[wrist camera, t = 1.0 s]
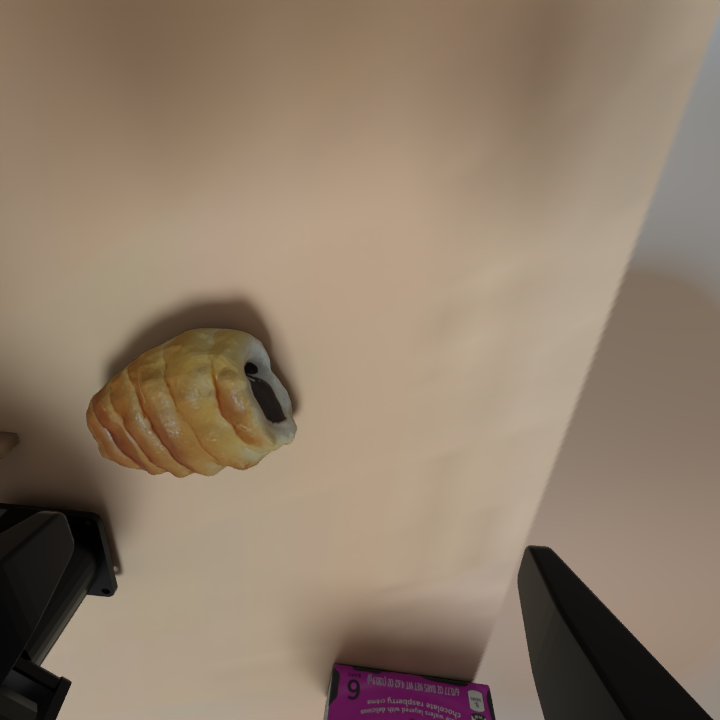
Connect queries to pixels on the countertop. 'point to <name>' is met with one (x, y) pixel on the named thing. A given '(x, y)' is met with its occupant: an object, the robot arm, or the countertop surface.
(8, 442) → the wooden bracket
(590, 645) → the robot arm
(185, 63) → the countertop surface
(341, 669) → the candy bar box
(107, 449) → the pastry
